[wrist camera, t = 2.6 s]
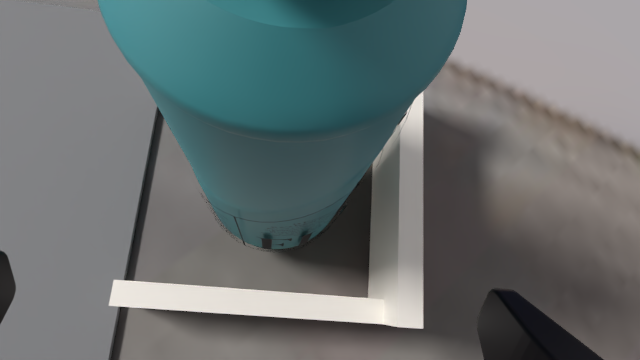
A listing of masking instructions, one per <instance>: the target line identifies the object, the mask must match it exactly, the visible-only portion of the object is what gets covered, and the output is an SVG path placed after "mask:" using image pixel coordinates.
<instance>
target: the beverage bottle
mask: <svg viewBox="0 0 640 360" xmlns="http://www.w3.org/2000/svg"><path fill="white" fill-rule="evenodd" d="M98 4H99V7H100V11H101V14H102V17H103V19H104V21H105V23H106V26H107V28H108V30H109V32H110V35H111V36H112V38H113V40H114V41H115V43H116V45H117V46H118V48H119V49H120V51H121V53H122V54H123V56H124V57H125V59H126V60H127V62H128V63H129V64H130V65H131V67H132V68H133V69H134V70H135V71H136V72H137V74H138V75H139V76H140V77H141V79H142V80H143V82H144V84H145V86H146V87H147V89H148V91H149V93H150V94H151V96H152V98H153V100H154V101H155V103H156V105H157V106H158V108H159V110H160V112H161V113H162V115H163V117H164V119H165V120H166V122H167V124H168V126H169V127H170V129H171V131H172V133H173V134H174V136H175V138H176V140H177V141H178V143H179V145H180V147H181V148H182V150H183V152H184V153H185V155H186V157H187V159H188V160H189V162H190V164H191V166H192V167H193V171H194V173H195V175H196V177H197V179H198V182H199V183H200V185H201V187H202V189H203V191H204V192H205V194H206V196H207V198H208V200H209V201H208V202H209V203H211V205H212V206H211V207H213V208H211V207H210V208H211V209H214V211H215V212H214V213H215V214H217V216H218V218H219V219H220V222H222V223H223V225H224V226H225V227H226V228H225V229H228V232H231V233H229V234H234V235H231V236H237V237H238V238H239V239H241V240H242V241H243V243H244V241H245V242H247V243H249V244H252V245H254V246H257V247H260V248H264V249H285V248H291V247H294V246H296V247H297V246H300V245H303V244H305V243H308V241H309V240H310V239H312V238H314V237H315V236H316V235H317V234H319V233H320V232H321V231H322V230H323V229H324V228H325V227H326V226H327V225H328V223H329V222H330V221H331V219H332V218H333V217H335V216H334V215H335V214H336V213H338V214H339V212H337V211H338V210H339V208H340V207H342V208H343V209H341V208H340V210H341V211H340V214H341V212H342V211H343V210H344V208H345V207H346V206H347V205H345V206H341V205H342V204H343V203H344V202H346V201H345V200H346V199H347V197H348V196H349V194H350V193H351V192H352V191H353V190H354V189H355V186H356V185H357V186H359V185H360V183H359V181H360V179H361V178H362V177H363V175H364V174H365V172H366V171H367V170H368V168H369V167H370V166H371V164H372V163H373V161H374V160H375V159H376V157H377V156H378V154H379V153H380V152H381V150H382V149H383V147H384V146H385V144H386V143H387V141H388V140H389V138H390V137H391V136H392V134H393V133H394V132H395V129H396V126H397V125H399V124H400V122H401V121H402V120H403V118H404V117H405V115H406V114H407V112H406V111H407V110H408V109H409V107H410V106H412V105H411V104H412V103H413V101H414V100H415V98H416V97H417V96H418V95H420V94H421V93H422V92H423V91H424V90H425V89H426V88H427V87H428V85H429V84H430V83H431V82H432V81H433V79H434V78H435V77H436V76H437V75H438V73H439V72H440V70H441V69H442V67H443V66H444V64H445V62H446V61H447V59H448V57H449V56H450V54H451V52H452V51H453V49H454V46H455V44H456V42H457V39H458V37H459V35H460V32H461V28H462V24H463V20H464V16H465V12H466V5H467V0H98ZM410 109H411V107H410ZM409 112H410V110H409ZM404 114H405V115H404ZM408 114H409V113H408ZM407 117H408V116H407ZM406 119H407V118H406ZM393 131H394V132H393ZM399 134H400V133H399ZM398 136H399V135H398ZM396 139H397V138H396ZM391 147H392V146H391ZM382 152H383V150H382ZM381 155H382V154H381ZM380 159H381V157H380ZM379 161H380V160H379ZM378 163H379V162H378ZM378 165H379V164H377V166H378ZM377 166H376V167H377ZM375 169H376V168H375ZM372 173H373V172H372ZM358 183H359V184H358ZM362 183H363V182H362ZM362 183H361V184H362ZM357 186H356V187H357ZM201 195H202V194H201ZM202 196H203V195H202ZM350 200H351V199H350ZM350 200H349V201H350ZM349 201H348V202H349ZM206 203H207V201H206ZM343 205H344V204H343ZM209 210H210V209H209ZM212 214H213V213H212ZM215 217H216V216H215ZM336 219H337V218H336ZM336 219H335V220H336ZM215 220H216V218H215ZM217 220H218V219H217ZM335 220H334V221H335ZM218 221H219V220H218ZM218 223H219V222H218ZM224 226H223V227H224ZM220 227H221V226H220ZM329 227H330V226H329ZM329 227H328V228H329ZM226 232H227V230H226ZM228 232H227V233H228ZM323 232H325V231H323ZM323 232H322V233H323ZM322 233H321V234H322ZM321 234H320V235H319V236H321ZM229 236H230V235H229ZM233 238H234V237H233ZM316 239H317V237H316ZM236 241H237V240H236ZM311 241H312V240H311ZM309 242H310V241H309ZM311 243H312V242H311ZM244 245H245V243H244ZM245 246H246V245H245ZM305 246H306V244H305ZM248 247H249V246H248ZM303 247H304V245H303ZM253 249H254V248H253ZM264 249H263V250H264ZM293 249H294V250H295V248H293ZM257 250H258V249H257ZM290 250H292V249H290ZM261 251H262V250H261ZM268 251H269V250H267V252H268ZM271 251H272V250H271ZM275 251H276V250H275ZM278 251H280V250H278ZM282 251H284V250H282ZM284 252H285V251H284Z"/></svg>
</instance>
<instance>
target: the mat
mask: <svg viewBox="0 0 640 360" xmlns="http://www.w3.org/2000/svg"><path fill="white" fill-rule="evenodd" d="M157 114H158V106H157V105H156V103H155V101H154V100H153V98H152V96H151V94H150V93H149V91H148V89H147V87H146V86H145V84H144V82H143V80H142V79H141V77H140V76H139V75H138V74H137V72H136V71H135V70H134V69H133V68H132V67H131V65H130V64H129V63H128V62H127V60H126V59H125V57H124V56H123V54H122V53H121V51H120V49H119V48H118V46H117V45H116V43H115V41H114V40H113V38H112V36H111V35H110V32H109V30H108V28H107V26H106V23H105V21H104V19H103V17H102V14H101V11H98V10H90V9H82V8H75V7H67V6H59V5H51V4H43V3H36V2H28V1H20V0H0V250H1V251H3V252H5V253H6V254H7V256H8V259H9V262H10V266H11V269H12V273H13V276H14V280H15V283H16V292H15V296H14V299H13V301H12V303H11V305H10V307H9V309H8V311H7V313H6V315H5V316H4V318H3V320H2V322H1V324H0V360H110V359H111V354H112V349H113V344H114V339H115V333H116V328H117V323H118V318H119V312H120V307H119V306H109V301H110V296H111V291H112V286H113V281H114V280H125V281H126V276H127V271H128V265H129V260H130V255H131V250H132V244H133V239H134V234H135V229H136V223H137V218H138V213H139V208H140V202H141V197H142V192H143V187H144V182H145V176H146V171H147V166H148V161H149V155H150V150H151V145H152V140H153V134H154V129H155V124H156V119H157Z"/></svg>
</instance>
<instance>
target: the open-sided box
mask: <svg viewBox="0 0 640 360" xmlns="http://www.w3.org/2000/svg"><path fill="white" fill-rule="evenodd" d="M411 105H412V106H410V107H411V109H410V107H409V109H408V110H407V111H406V112H407V114H406V115H405V114H404V115H405V117H404V118H403V120H402V121H401V122H400V124H399V125H397V126H396V129H395V132H394V131H393V132H394V133H393V134H392V136H391V137H390V138H389V140H388V141H387V143H386V144H385V146H384V147H383V149H382V150H383V152H382V150H381V152H380V153H379V154H378V156H377V157H376V159H375V160H374V161H373V169H372V172H373V173H372V198H371V227H370V256H369V284H368V298H359V297H345V296H331V295H317V294H304V293H290V292H276V291H263V290H249V289H235V288H221V287H208V286H194V285H180V284H167V283H153V282H139V281H125V280H114V281H113V286H112V291H111V296H110V301H109V306H119V307H134V308H149V309H164V310H178V311H193V312H208V313H223V314H238V315H253V316H268V317H282V318H297V319H312V320H327V321H342V322H357V323H372V324H384V325H389V326H394V327H404V328H418V329H423V92H422V93H421V94H420V95H418V96H417V97H416V98H415V100H414V101H413V103H412V104H411ZM409 110H410V112H409ZM408 113H409V114H408ZM407 116H408V117H407ZM406 118H407V119H406ZM399 133H400V134H399ZM398 135H399V136H398ZM396 138H397V139H396ZM391 146H392V147H391ZM381 154H382V155H381ZM380 157H381V159H380ZM379 160H380V161H379ZM378 162H379V163H378ZM377 164H379V165H378V166H377ZM376 166H377V167H376ZM375 168H376V169H375Z"/></svg>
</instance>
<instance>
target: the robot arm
mask: <svg viewBox="0 0 640 360" xmlns="http://www.w3.org/2000/svg"><path fill="white" fill-rule="evenodd" d="M15 292H16V283H15V280H14V276H13V273H12V269H11V266H10V262H9V259H8V256H7V254H6V253H5V252H3V251H1V250H0V324H1V322H2V320H3V318H4V316H5V315H6V313H7V311H8V309H9V307H10V305H11V303H12V301H13V299H14V296H15ZM477 330H478V335H479V339H480V343H481V348H482V352H483V356H484V360H604V359H602V358H601V357H600V356H598V355H597V354H596V353H594V352H593V351H592V350H591V349H589V348H588V347H587V346H585V345H584V344H583V343H581V342H580V341H579V340H578V339H576V338H575V337H574V336H572V335H571V334H570V333H569V332H567V331H566V330H565V329H563V328H562V327H561V326H559V325H558V324H557V323H556V322H554V321H553V320H552V319H550V318H549V317H548V316H547V315H545V314H544V313H543V312H541V311H540V310H539V309H537V308H536V307H535V306H534V305H532V304H531V303H530V302H528V301H527V300H526V299H524V298H523V297H522V296H521V295H519V294H518V293H517V292H515V291H513V290H510V289H498V288H495V289H492V290H491V291H489V293H488V295H487V297H486V300H485V302H484V304H483V307H482V309H481V311H480V313H479V316H478V319H477Z"/></svg>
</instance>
